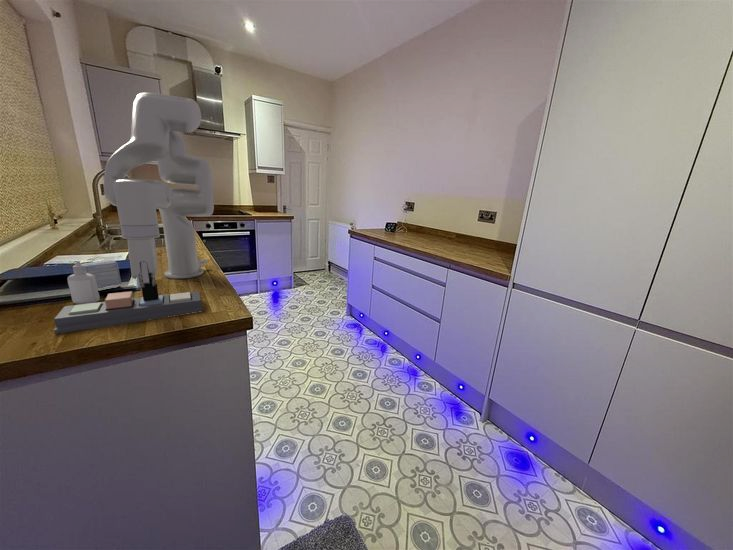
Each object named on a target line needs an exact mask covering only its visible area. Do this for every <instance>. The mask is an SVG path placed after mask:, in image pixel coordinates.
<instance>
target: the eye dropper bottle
mask: <svg viewBox="0 0 733 550" xmlns="http://www.w3.org/2000/svg"><path fill="white" fill-rule="evenodd" d="M82 264H83V263H81V261H80V260H75V264H74V265H73V266H72V271H73V273H72V274H70V275H68V276H67V279H66V280H67V284H68V289H69V293H70V295H71V300H72V303H73V304H75V305H80V304H88V303H97V302H100V300H101V297H100V292H98V287H97V283H96V279H95V276H94V275H92V274H89V273H86V268H85V265H82Z"/></svg>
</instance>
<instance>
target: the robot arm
mask: <svg viewBox="0 0 733 550" xmlns="http://www.w3.org/2000/svg"><path fill="white" fill-rule="evenodd" d="M201 122H202V113H201V108H200V106H199V104H198V102H197V101H196V100H195V99H192V98H189V97H182V96H175V95H169V94H162V93H157V92H140V93H138V94H137V95H136V97H135V99H134V100H133V105H132V116H131V129H130V130H131V131H130V138H129V139H130V140H129V141H128V142H127V143H125V144H123V145H122V146H120V147H119V148H118V149H117V150H115V151H114V152H113V154H111V156H109V158H108V160H107V161H106V164H105V167H104V177H103V194H104V196H105V199H106V200H107V201H108V202H109V204H110V205H112V206H114V207H116V209H117V214H118V215H117V216H118V220H119V221H118V222H119V225H120V232H121V236H122V239H124V240H127V249H128V257H129V265H130V273H131V278H132V279H134V280H136V279H137V278H138V277H139V278H140V285H141V292H142V293H141V294H142V297H143V300H144V301H151V300H158V297H159V289H158V284H157V281H156V280H157V279H156V276H157V272H158V256H157V255H158V254H157V247H156V240H155V239H157V238H160V227H159V221H158V214H157V212H158V211H159V214H160V218H161V222H162V226H163V227H162V228H163V236H164V242H165V243H164V244H165V249H166V251H165V252H166V256H167V258H166V259H167V265H168V266H167V267H168V269H167V270H165V271H164V277H165V278H168V279H175V280H176V279H190V278H195V277H199V276H201V275H203V274H204V269H203V268H201V267H202V266H203V265H206V264H207V263H208V261H207V260H206V259H201V260H199V259H198V251H197V241H196V234H195V232H196V231H195V227H194V225H193V224H192V223H191V221H190V220H189V219H188V218H187V217H210V216H211V215H213V213H214V209H215V204H214V202H215V201H214V191H213V190H214V189H213V177H212V171H211V167H210V164H209V163H208V161H207V160H206V159H204V158H202V157H196V156H187V152H186V143H185V140H184V138H183V137H182V136H181V134H180V133H193V132H195V131H196V130H197V129H198V128H199V127H200V125H201ZM155 161H156V162H157V167H158V169H157V170H158V175H159V177H160V179H161V180H162V181H161V180H155V179H146V178H145V179H143V178H131V177H126V175H127V174H128V173H129V172H130V171H131V170H132V169H136V168H137V167H140V166H141V165H145V164H148V163H151V162H152V163H153V162H155ZM169 184H173V185H184V186H185V185H186V186H196V187H197V189H194V188H183V187H182V188H180V187H170V186H169ZM157 210H158V211H157Z"/></svg>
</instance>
